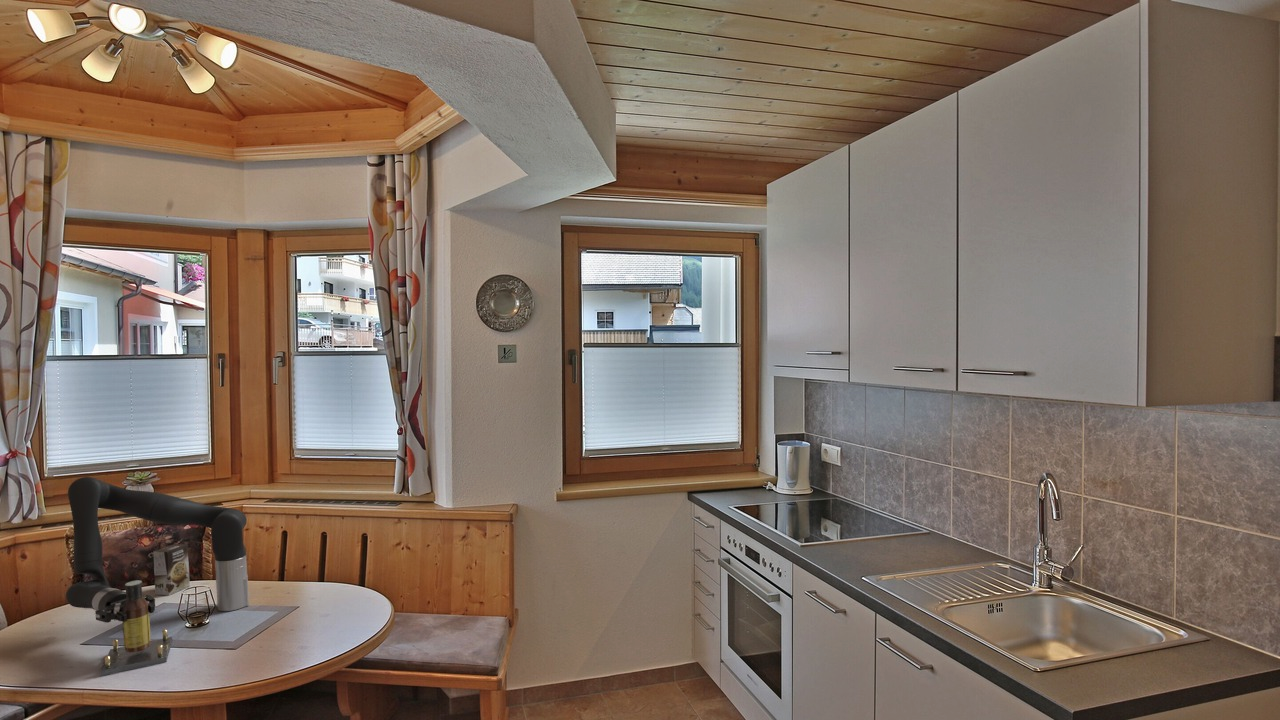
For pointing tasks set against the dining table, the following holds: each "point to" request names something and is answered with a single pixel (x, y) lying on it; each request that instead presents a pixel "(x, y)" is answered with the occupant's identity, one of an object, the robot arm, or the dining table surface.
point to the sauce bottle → (136, 619)
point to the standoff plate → (136, 656)
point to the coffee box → (171, 569)
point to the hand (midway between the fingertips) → (139, 613)
